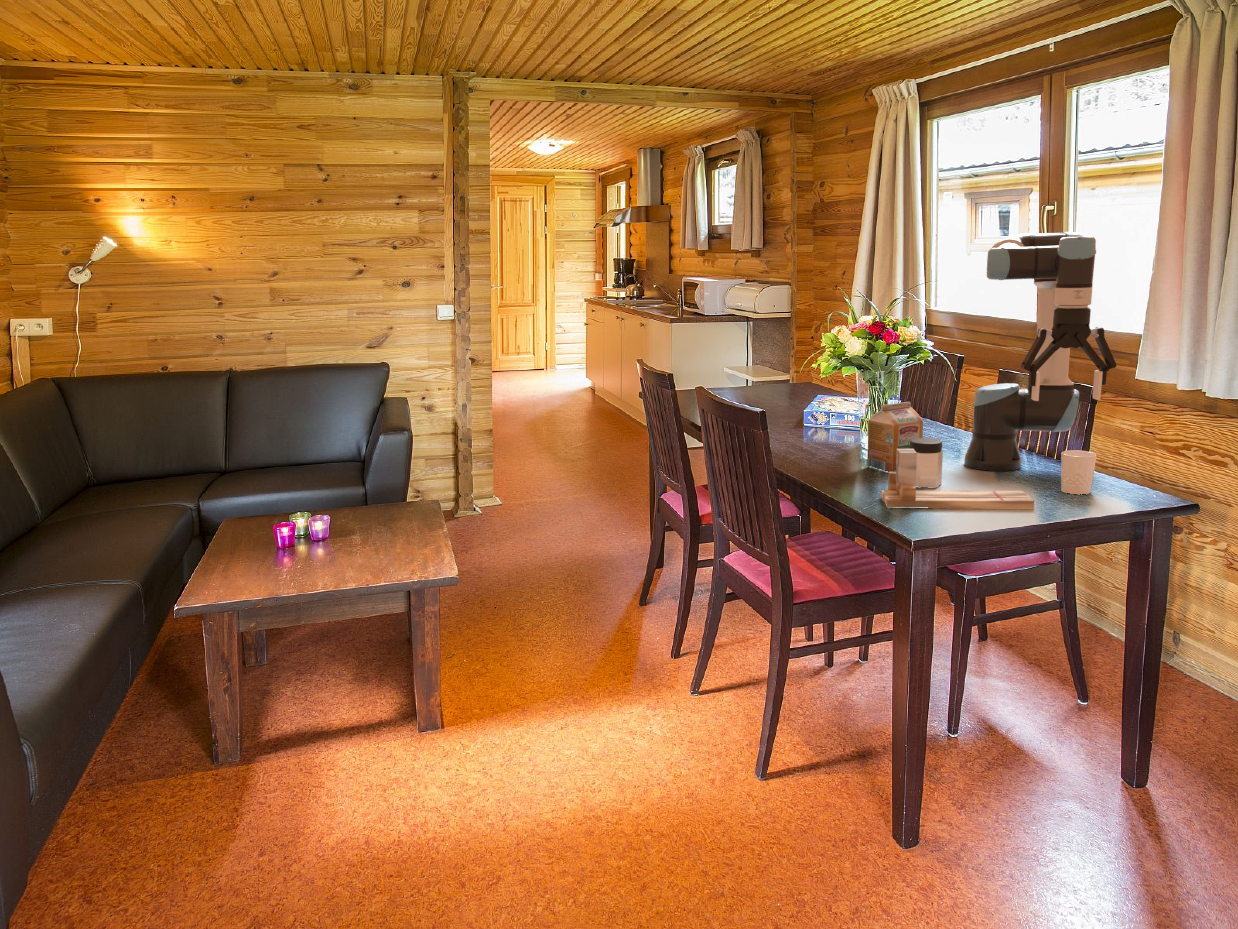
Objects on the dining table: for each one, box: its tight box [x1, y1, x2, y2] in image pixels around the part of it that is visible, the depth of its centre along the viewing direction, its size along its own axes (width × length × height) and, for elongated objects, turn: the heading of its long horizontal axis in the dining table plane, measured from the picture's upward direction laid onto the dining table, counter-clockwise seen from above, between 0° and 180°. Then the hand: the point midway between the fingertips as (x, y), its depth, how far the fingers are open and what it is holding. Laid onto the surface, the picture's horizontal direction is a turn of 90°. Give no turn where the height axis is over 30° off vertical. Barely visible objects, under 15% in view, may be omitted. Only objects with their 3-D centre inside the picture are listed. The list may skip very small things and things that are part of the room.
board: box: [880, 489, 1035, 510], centre depth 229 cm, size 10×34×2 cm, turn 82°
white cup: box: [1060, 449, 1097, 496], centre depth 235 cm, size 8×8×10 cm
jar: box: [910, 437, 944, 488], centre depth 247 cm, size 9×8×12 cm
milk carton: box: [866, 401, 924, 472], centre depth 265 cm, size 11×11×19 cm
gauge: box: [887, 449, 917, 501], centre depth 230 cm, size 14×6×13 cm, turn 172°
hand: (1065, 399), depth 215 cm, fingers open, 13 cm apart
